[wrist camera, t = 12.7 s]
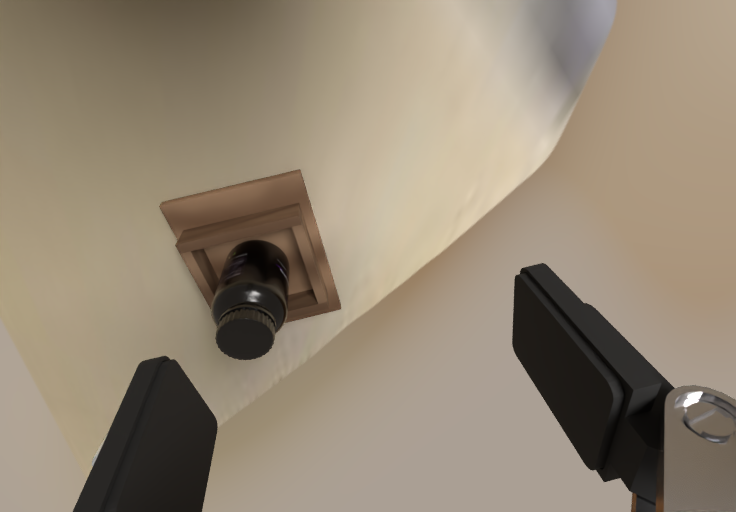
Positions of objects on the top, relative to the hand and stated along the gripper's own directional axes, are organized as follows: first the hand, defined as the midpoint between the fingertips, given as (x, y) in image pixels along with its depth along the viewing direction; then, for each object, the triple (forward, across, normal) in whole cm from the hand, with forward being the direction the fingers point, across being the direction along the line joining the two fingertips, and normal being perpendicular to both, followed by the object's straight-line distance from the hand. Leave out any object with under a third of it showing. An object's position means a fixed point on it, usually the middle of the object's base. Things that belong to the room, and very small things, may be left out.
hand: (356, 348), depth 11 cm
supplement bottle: (+29, +10, +14) cm, 34 cm away
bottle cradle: (+30, +10, +14) cm, 35 cm away
